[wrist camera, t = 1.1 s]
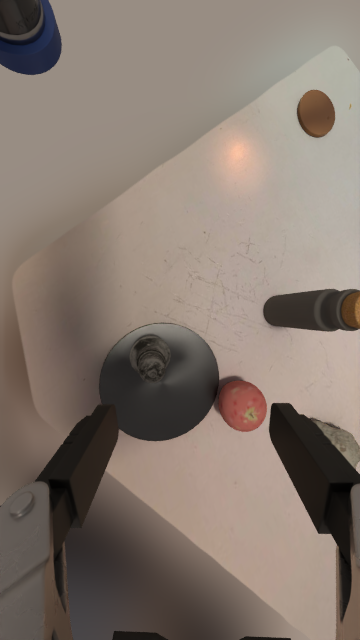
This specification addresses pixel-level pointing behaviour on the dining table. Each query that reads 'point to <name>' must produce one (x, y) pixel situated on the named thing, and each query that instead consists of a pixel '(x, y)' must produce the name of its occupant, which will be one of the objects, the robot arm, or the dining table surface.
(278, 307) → the bottle
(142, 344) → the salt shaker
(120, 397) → the steel plate
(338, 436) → the decorative stone
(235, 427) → the apple
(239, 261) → the dining table surface
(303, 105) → the cork coaster
